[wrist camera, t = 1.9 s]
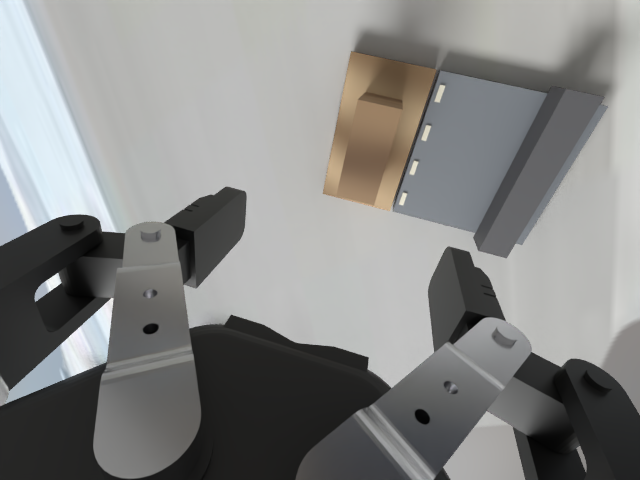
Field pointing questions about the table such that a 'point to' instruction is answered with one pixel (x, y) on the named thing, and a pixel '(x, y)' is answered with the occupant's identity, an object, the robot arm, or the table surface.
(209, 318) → the table surface
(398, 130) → the stub
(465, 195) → the board
